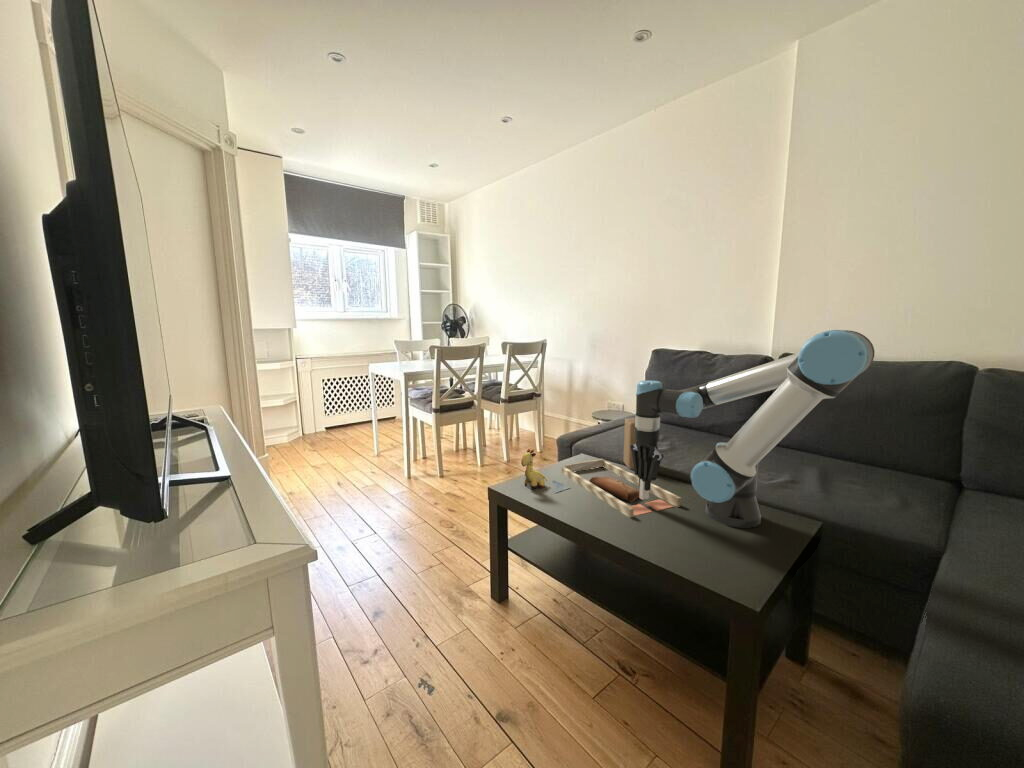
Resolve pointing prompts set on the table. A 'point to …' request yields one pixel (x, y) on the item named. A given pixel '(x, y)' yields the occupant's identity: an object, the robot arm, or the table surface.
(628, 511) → the wooden tray
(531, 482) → the stuffed giraffe
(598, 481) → the sunglasses case
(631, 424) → the block
